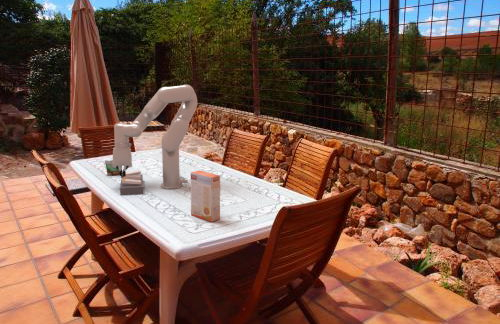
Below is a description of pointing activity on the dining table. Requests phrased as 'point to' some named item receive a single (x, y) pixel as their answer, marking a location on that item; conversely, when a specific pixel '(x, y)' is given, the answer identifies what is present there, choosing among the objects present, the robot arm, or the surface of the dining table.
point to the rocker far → (133, 173)
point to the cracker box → (205, 195)
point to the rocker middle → (132, 177)
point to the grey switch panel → (131, 187)
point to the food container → (111, 169)
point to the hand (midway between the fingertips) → (122, 177)
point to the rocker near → (131, 181)
